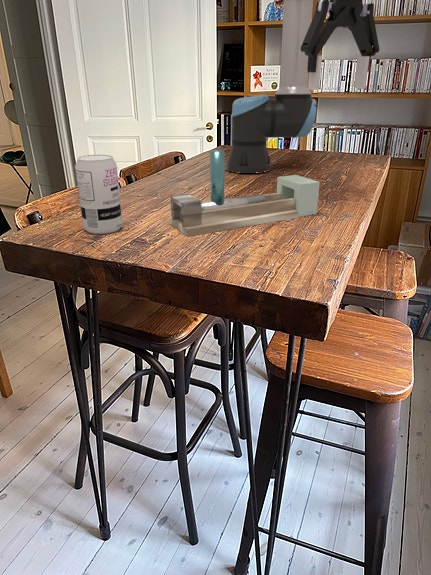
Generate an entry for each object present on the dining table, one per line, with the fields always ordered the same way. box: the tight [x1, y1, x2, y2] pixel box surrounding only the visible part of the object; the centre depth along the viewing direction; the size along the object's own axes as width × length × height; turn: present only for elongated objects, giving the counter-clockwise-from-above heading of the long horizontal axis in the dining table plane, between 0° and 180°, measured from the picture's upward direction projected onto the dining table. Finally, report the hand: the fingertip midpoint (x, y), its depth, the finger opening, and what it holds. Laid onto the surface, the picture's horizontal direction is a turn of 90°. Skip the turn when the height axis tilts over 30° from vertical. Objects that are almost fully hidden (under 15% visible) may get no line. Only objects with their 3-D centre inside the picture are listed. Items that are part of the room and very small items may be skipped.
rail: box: [168, 192, 299, 237], centre depth 100 cm, size 10×28×6 cm, turn 117°
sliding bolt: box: [179, 149, 266, 220], centre depth 97 cm, size 3×20×14 cm, turn 117°
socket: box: [276, 174, 320, 218], centre depth 107 cm, size 9×6×8 cm, turn 27°
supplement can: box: [74, 154, 124, 235], centre depth 93 cm, size 8×8×15 cm
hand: (337, 89), depth 99 cm, fingers open, 13 cm apart
